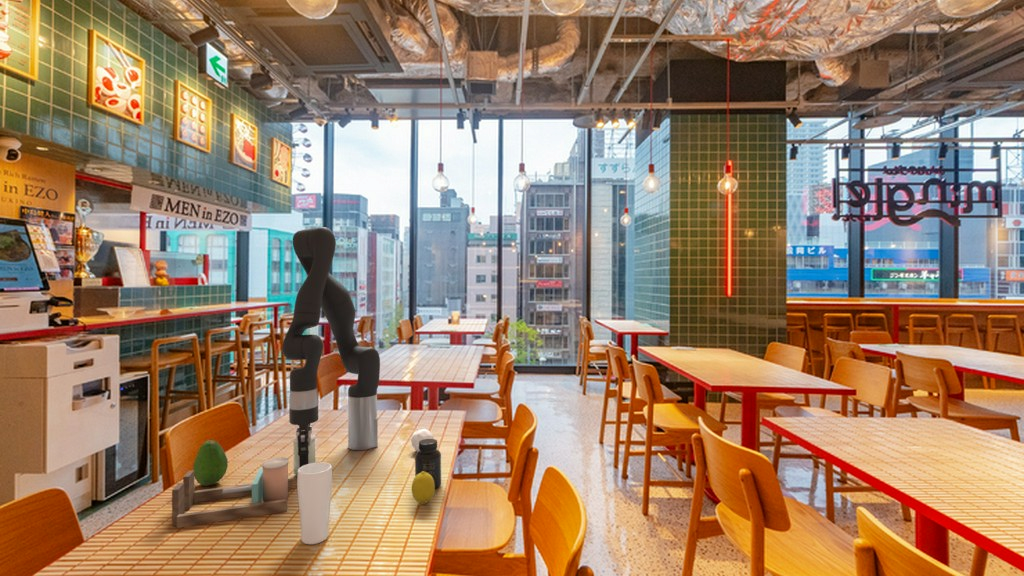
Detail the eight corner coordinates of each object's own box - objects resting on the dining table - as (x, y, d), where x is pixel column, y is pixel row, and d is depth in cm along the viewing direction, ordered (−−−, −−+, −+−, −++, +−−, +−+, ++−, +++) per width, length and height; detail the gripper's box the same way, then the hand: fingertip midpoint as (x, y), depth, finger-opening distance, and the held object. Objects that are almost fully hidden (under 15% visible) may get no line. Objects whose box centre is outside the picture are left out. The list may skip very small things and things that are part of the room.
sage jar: (316, 466, 136) (315, 432, 136) (315, 473, 131) (315, 438, 131) (294, 469, 134) (293, 435, 134) (292, 477, 129) (292, 441, 129)
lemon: (438, 501, 116) (438, 468, 116) (427, 511, 111) (427, 477, 111) (419, 497, 118) (418, 466, 118) (407, 507, 113) (407, 474, 113)
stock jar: (289, 494, 120) (289, 456, 120) (287, 503, 115) (287, 463, 115) (264, 497, 118) (264, 458, 119) (260, 507, 113) (260, 467, 113)
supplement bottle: (446, 483, 126) (446, 439, 126) (431, 493, 120) (431, 447, 120) (425, 479, 129) (425, 436, 129) (409, 489, 123) (409, 443, 123)
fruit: (190, 493, 121) (190, 446, 121) (195, 482, 128) (195, 438, 128) (226, 487, 125) (226, 442, 125) (228, 476, 132) (228, 434, 132)
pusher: (264, 492, 121) (264, 467, 121) (257, 511, 111) (257, 483, 111) (228, 497, 118) (227, 472, 118) (217, 517, 108) (217, 489, 108)
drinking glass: (304, 531, 102) (303, 462, 102) (336, 530, 102) (336, 461, 102) (292, 548, 95) (292, 474, 95) (326, 546, 96) (326, 473, 96)
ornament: (410, 455, 148) (403, 431, 152) (422, 456, 154) (415, 433, 158) (429, 445, 147) (421, 422, 150) (440, 447, 153) (433, 424, 157)
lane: (292, 487, 125) (292, 457, 125) (286, 511, 111) (286, 477, 111) (190, 501, 117) (190, 468, 117) (170, 528, 103) (170, 492, 103)
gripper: (317, 409, 127) (318, 471, 127) (318, 398, 141) (319, 454, 141) (286, 412, 125) (287, 476, 125) (291, 400, 138) (292, 457, 138)
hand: (304, 464), depth 133 cm, fingers closed on sage jar, 5 cm apart
